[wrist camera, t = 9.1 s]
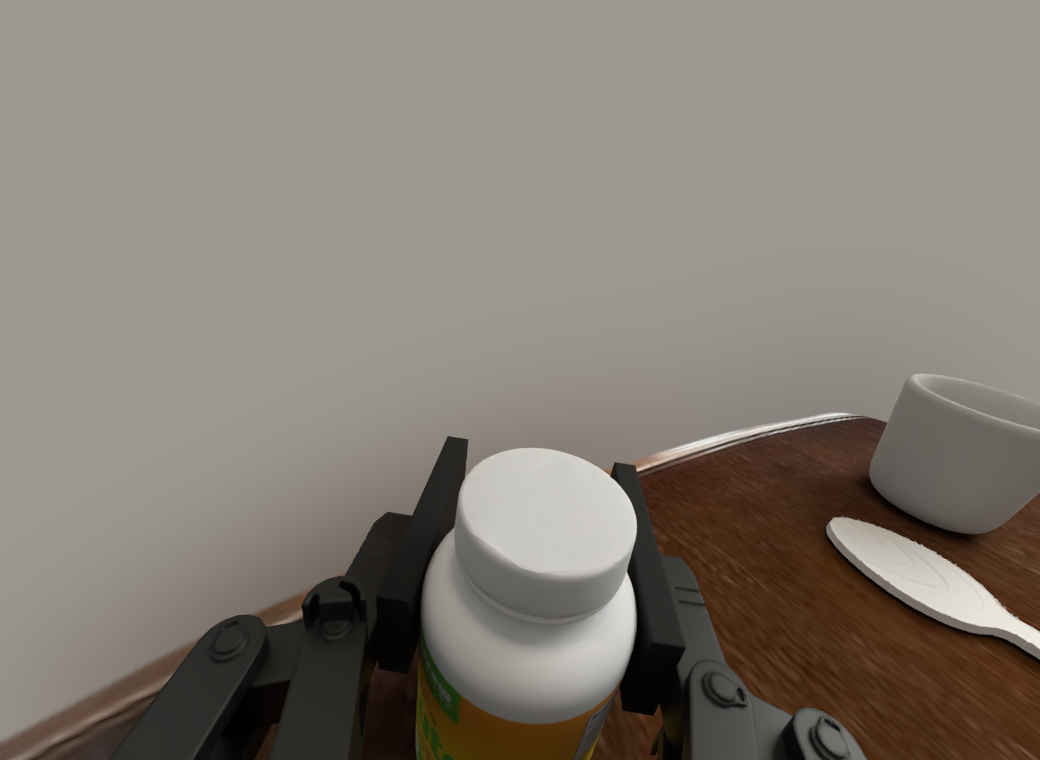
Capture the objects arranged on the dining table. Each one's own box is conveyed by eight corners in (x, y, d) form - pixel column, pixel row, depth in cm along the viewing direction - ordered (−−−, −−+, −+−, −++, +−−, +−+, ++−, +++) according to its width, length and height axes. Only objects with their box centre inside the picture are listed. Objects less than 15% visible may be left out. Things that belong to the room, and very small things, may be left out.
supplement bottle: (376, 751, 12) (365, 504, 8) (487, 618, 17) (516, 410, 12) (523, 921, 10) (614, 688, 6) (610, 713, 14) (698, 493, 10)
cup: (929, 464, 33) (990, 374, 29) (1066, 543, 26) (1167, 437, 22) (824, 469, 30) (878, 371, 27) (945, 558, 23) (1040, 441, 20)
